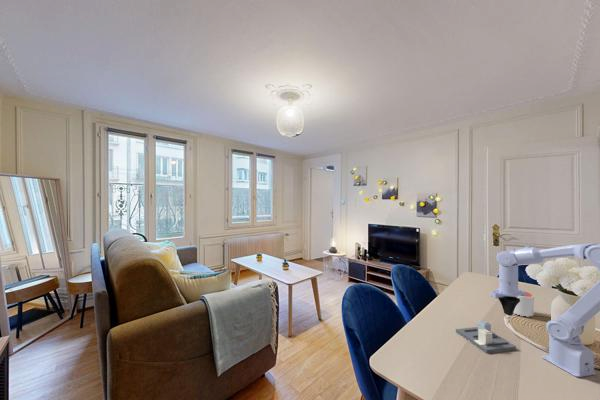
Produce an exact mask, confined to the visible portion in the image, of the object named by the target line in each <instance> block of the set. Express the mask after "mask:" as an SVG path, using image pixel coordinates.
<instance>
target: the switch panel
mask: <svg viewBox="0 0 600 400" xmlns="http://www.w3.org/2000/svg"><path fill="white" fill-rule="evenodd" d="M455 333H457V334H458V335H459V334H460V335H459V336H460V337H462V336H463V338H464V339H465V338H466V339H465V340H466V341H468V340H469V341H470V342H469V341H468V342H469V343H471V342H472V343H473V345H474V346H475V345H476V346H475V347H476V348H478V349H479V350H481V351H482V352H483V353H485V354H491V353H499V352H509V351H514V350H515V351H516V350H517V346H516V345H515V344H513V343H511V342H509V341H508V340H506V339H504V337H501V336H499V335H498V334H496V333H495V332H493V331H492V330H491V333H492V344H484V343H482V342H481V341H479V340H478V326H475V327H465V328H456V329H455ZM472 343H471V344H472Z"/></svg>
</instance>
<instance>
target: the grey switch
mask: <svg viewBox="0 0 600 400" xmlns="http://www.w3.org/2000/svg"><path fill="white" fill-rule="evenodd" d="M477 327H478V330H479V329H486V330H488V331H490V332H491V331H492V324H491V323H489V322H488V321H486V320H482V319H481V320H477Z"/></svg>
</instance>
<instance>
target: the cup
mask: <svg viewBox="0 0 600 400" xmlns="http://www.w3.org/2000/svg"><path fill="white" fill-rule="evenodd" d="M517 298H519V299H520V302H519V303H518V304H517V305H516V307H515V309H514V312H513V313H514V315H515V314H517V315H516V316H518V315H520V317H523V316H526V317H525V318H530V316H531V317H533V316H534V315H535V314H534V313H535V312H534V311H535V310H534V309H535V308H534V307H535V297H534V294H532V293H530V292H528V291H526V296H518V297H517Z"/></svg>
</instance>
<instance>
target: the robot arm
mask: <svg viewBox="0 0 600 400" xmlns="http://www.w3.org/2000/svg"><path fill="white" fill-rule="evenodd" d="M562 257H575V258H578V259H580V260H586V259H587V260H588V261H589V263H591V264H592V265H593V266H594V267H596V269H597V270H598V271H599V273H600V243H599V244H598V243H597V242H596V243H595V242H591V243H589V242H588V243H576V244H569V245H562V246H556V247H550V248H545V249H541V248H539V247H535V246H531V245H528V246H524V248H517V249H515V248H511V249H509V250H505V251H504V250H502V251H500V252H498V253H497V254H496V257H495V259H496V262H497V263H498V287H497V288H496V290H493V291H490V297H491V298H493V299H498V301H499V302H500V304H501V307H502V310H503V313H504V314H505V315H507V316H509V317H511V316H512V317H513V312H514V309H515V307H516V305H517V304H518V303H519V302H520V299H519V298H517V297H518V296H526V292H527V291H525V290H522V289H519V265H520V266H521V265H531V264H541V263H543V262H544V260H545V259H550V258H551V259H553V258H554V259H555V258H562ZM598 313H600V279H599V280H598V281H597V282H596V283H595V284H594V285H593V286H592V287H591V288H590V289H589V290H588V291H587V292H585V293H584V294H583V295H582V296H581V297H580V298H579V299H578V300H576V302H575V303H574V304H573V305H572V306H571V307H569V308H568V309H567V310H566V311H565V312H564V313H562V314H561V315H559V316H557V317H556V318H555V319H554V318H553V319H551V320H548V321H547V322H546V324H545V328H546V331H547V332H548V354H545V355H541V358H542V359H544V360H546V361H547V362H549V363H550V364H553V365H554V366H556V367H558V368H560V369H561V370H563V371H565V372H566V373H568V374H570V375H572V376H574V377H576V378H582V377H588V376H595V375H597V373H596V372H595V354H594V352H593V350H591V349H590V348H588V347H587V346H586V345H584V344H583V343H582V340H581V338H580V335H582V334H583V333H584V330H585V325H587V324H588V322H589V321H591V319H592V318H594V317H595V316H596V315H597V314H598Z"/></svg>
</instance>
